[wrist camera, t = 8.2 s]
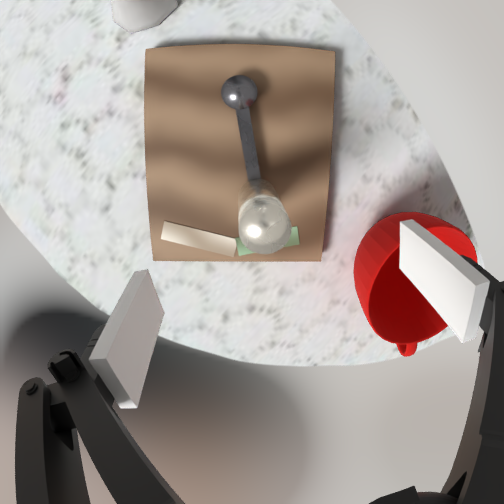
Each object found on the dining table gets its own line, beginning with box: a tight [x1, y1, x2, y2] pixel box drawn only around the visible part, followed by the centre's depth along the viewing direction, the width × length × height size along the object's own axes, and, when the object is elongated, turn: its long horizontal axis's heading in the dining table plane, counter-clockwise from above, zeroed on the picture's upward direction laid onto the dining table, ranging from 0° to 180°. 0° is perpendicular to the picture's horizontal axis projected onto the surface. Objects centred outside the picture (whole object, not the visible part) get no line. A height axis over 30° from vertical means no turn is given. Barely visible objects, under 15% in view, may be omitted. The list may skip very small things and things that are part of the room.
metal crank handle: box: [221, 75, 292, 254], centre depth 25 cm, size 16×4×10 cm, turn 9°
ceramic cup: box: [354, 212, 477, 356], centre depth 32 cm, size 13×17×10 cm
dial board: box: [144, 44, 335, 261], centre depth 30 cm, size 22×18×2 cm
